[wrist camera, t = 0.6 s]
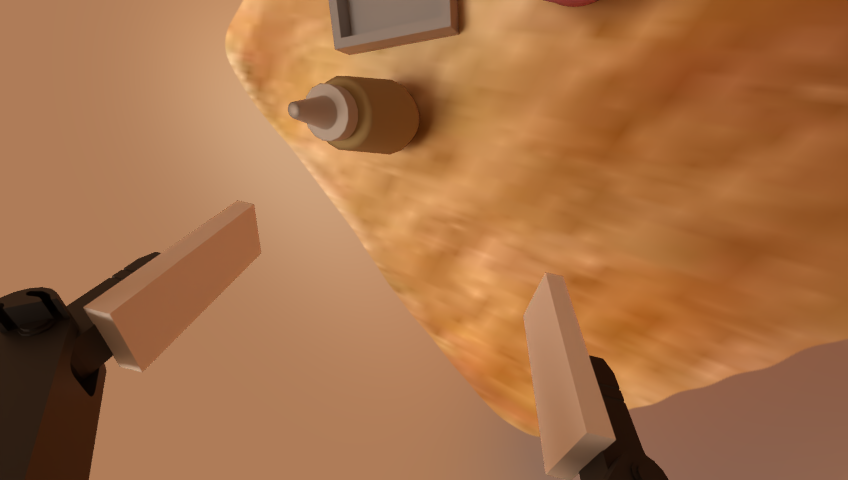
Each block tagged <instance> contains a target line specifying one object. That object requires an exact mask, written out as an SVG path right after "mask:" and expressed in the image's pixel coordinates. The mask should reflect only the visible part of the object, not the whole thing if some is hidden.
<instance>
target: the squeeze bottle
mask: <svg viewBox="0 0 848 480" xmlns="http://www.w3.org/2000/svg"><path fill="white" fill-rule="evenodd" d="M288 112H289V115H290V116H291V117H292V118H294V119H297V120H299V121H302V122H305V123H307V125H308V128H309V129H310V130H311V131H312V133H313V134H314V135H315V136H316V137H318V138H319V139H321V140H323V141H327V142H328V143H329V144H330V145H332V146H334V147H335V148H337V149H339V150H348V151H359V152H370V153H381V154H392V153H395V152H398V151H400V150H402V149H403V148H404V147H405V146H406V145H407V144H408V143H409V142H410V141H411V140H412V138H413V137H414V136H415V134H416V132H417V129H418V127H419V116H420V115H419V112H418V109H417V106H416V104H415V102H414V100H413V98H412V96H411V95H410V94H409V93H408V91H407V90H406V89H405V87H404V86H402V85H400V84H398V83H397V82H395V81H393V80H386V79H374V78H362V77H350V76H336V77H334V78H333V79H331V80H329V81H327V82H326V83H325V84H322V83H320V84H318V85H317V86H315V87H313V88H312V89H311V90H310V92H309V93H308V95H307V97H306V99H304V100H299V101H295V102H291V103H290V104H289V106H288Z"/></svg>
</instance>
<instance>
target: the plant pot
mask: <svg viewBox="0 0 848 480" xmlns="http://www.w3.org/2000/svg"><path fill="white" fill-rule="evenodd" d="M545 1H549V2H554V3H557V4H560V5H563V6H570V7H576V6H584V5H587V4H591V3H593V2H596V1H598V0H545Z"/></svg>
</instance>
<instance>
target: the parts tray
mask: <svg viewBox="0 0 848 480" xmlns="http://www.w3.org/2000/svg"><path fill="white" fill-rule="evenodd" d="M329 6H330V14H331V22H332V30H333V38H334V46H335V50H338V51H341V52H343V53H346V54H348V55H352V54H358V53H363V52H368V51H373V50H379V49H384V48H389V47H395V46H400V45H405V44H411V43H416V42H421V41H426V40H432V39H437V38H442V37H448V36H453V35H458V34H459V25H458V0H329Z"/></svg>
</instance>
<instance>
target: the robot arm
mask: <svg viewBox="0 0 848 480" xmlns="http://www.w3.org/2000/svg"><path fill="white" fill-rule="evenodd" d="M260 254H261V248H260V242H259V235H258V228H257V221H256V214H255V208H254V204H251V203H246V202H242V201H238V200H237V201H236V202H235V203H233V204H232V205H230V206H229V207H227V208H226V209H224V210H223V211H222V212H220V213H219V214H217V215H216V216H214V217H213V218H211V219H210V220H209V221H207V222H206V223H204V224H203V225H201V226H200V227H199V228H197V229H196V230H194V231H193V232H191V233H190V234H188V235H187V236H185V237H184V238H183V239H181V240H180V241H178V242H177V243H175V244H174V245H172V246H171V247H170V248H168V249H167V250H165V251H164V252H163V253H158V252H154V253H152V254H149V255H147V256H144V257H142V258H139V259H137V260H136V261H134V262H133V263H131V264H130V265H128V266H127V267H125V268H124V270H121V271H119V272H118V273H116V274H114V275H113V276H112V278H108V279H107V280H105V281H104V282H102V283H101V284H99V285H98V286H96V287H95V288H94V289H92V290H90V291H89V292H87V293H86V294H84V295H83V296H81V297H80V298H78V299H77V300H75V301H74V302H72V303H71V304H69V305H68V306H65V304H64V303H63V301H62V300H61V298H60V297H59V295H58V294H57V292H55V291H54V290H52V289H49V288H43V287H40V288H29V289H25V290H21V291H17V292H13V293H11V294H9V295H6V296H4V297H1V298H0V480H89V474H90V468H91V462H92V456H93V450H94V444H95V437H96V431H97V425H98V419H99V413H100V407H101V401H102V394H103V388H104V382H105V376H106V367H105V364H104V363H105V362H106V361H107V360H108V359H109V358H110V357H112V356H114V358H115V359H116V361H117V363H118V364H119V366H120V367H124V368H127V369H132V370H136V371H139V372H143V371H144V370H145V369H146V368H147V367H148V366H149V365H150V364H151V363H152V362H153V361H154V360H155V359H156V358H157V357H158V356H159V355H160V354H161V353H162V352H163V351H164V350H165V349H166V348H167V347H168V346H169V345H170V344H171V343H172V342H173V341H174V340H175V339H176V338H177V337H178V336H179V335H180V334H181V333H182V332H183V331H184V330H185V329H186V328H187V327H188V326H189V325H190V324H191V323H192V322H193V321H194V320H195V319H196V318H197V317H198V316H199V315H200V314H201V313H202V312H203V311H204V310H205V309H206V308H207V307H208V306H209V305H210V304H211V303H212V302H213V301H214V300H215V299H216V298H217V297H218V296H219V295H220V294H221V293H222V292H223V291H224V290H225V289H226V288H227V287H228V286H229V285H230V284H231V283H232V282H233V281H234V280H235V279H236V278H237V277H238V276H239V275H240V274H241V273H242V272H243V271H244V270H245V269H246V268H247V267H248V266H249V265H250V264H251V263H252V262H253V261H254V260H255V259H256V258H257V257H258V256H259V255H260ZM523 316H524V324H525V331H526V338H527V345H528V352H529V359H530V366H531V373H532V380H533V387H534V394H535V401H536V409H537V416H538V423H539V430H540V437H541V444H542V451H543V458H544V464H545V472H546V475H550V476H553V477H557V478H561V479H565V480H572V479H573V478H574V477H575V476H576V475H577V474H580V479H581V480H668V478H667V476H666V475H665V473H664V472H663V470H662V469H661V468H660V467H659V466H658V465H657V464H656V463H655V462H654V461H653V460H651V459H650V458H649V457H647V456H646V455H645V453H644V451H643V448H642V446H641V443H640V441H639V438H638V435H637V433H636V430H635V427H634V425H633V422H632V419H631V417H630V414H629V412H628V409H627V406H626V404H625V403H624V399H623V396H622V393H621V391H619V385H618V383H617V380H616V378H615V375H614V373H613V371H612V370H611V369H610V367H609V366H608V365H607V363H606V362H605V361H604V359H602V358H598V357H594V356H589V355H588V352H587V349H586V346H585V343H584V339H583V336H582V333H581V330H580V327H579V324H578V321H577V318H576V315H575V312H574V309H573V306H572V302H571V299H570V296H569V293H568V290H567V287H566V284H565V281H564V278H563V276H559V275H555V274H551V273H546V272H545V274H544V276H543V278H542V280H541V282H540V284H539V286H538V288H537V290H536V292H535V294H534V296H533V298H532V300H531V302H530V304H529V306H528V307H527V309H526V311H525V313H524V315H523Z"/></svg>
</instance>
